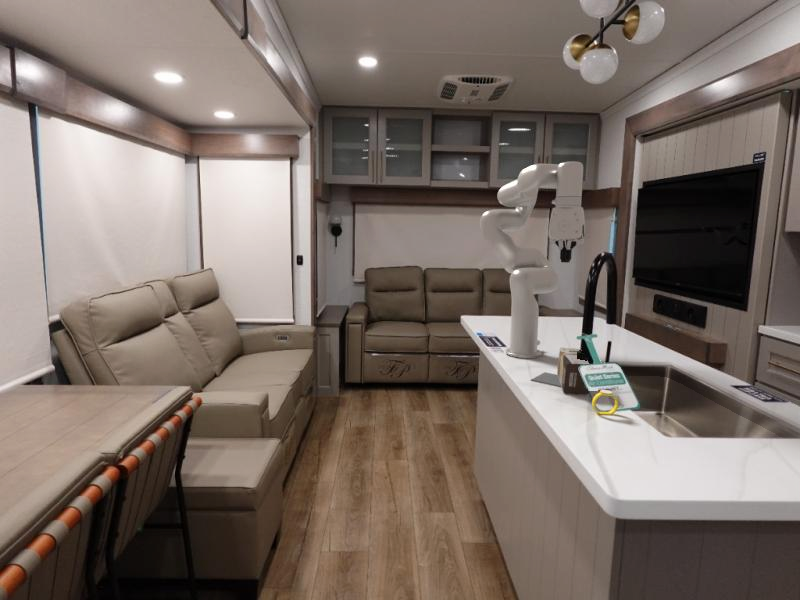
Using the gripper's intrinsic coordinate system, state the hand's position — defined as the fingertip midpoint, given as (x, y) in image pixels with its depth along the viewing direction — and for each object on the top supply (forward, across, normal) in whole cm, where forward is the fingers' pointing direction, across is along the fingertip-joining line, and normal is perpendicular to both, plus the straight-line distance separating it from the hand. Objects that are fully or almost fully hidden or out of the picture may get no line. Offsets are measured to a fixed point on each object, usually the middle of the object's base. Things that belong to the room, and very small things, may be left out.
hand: (565, 262), depth 156 cm
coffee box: (+30, +5, -7) cm, 31 cm away
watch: (+35, +24, -30) cm, 52 cm away
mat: (+35, +3, -12) cm, 37 cm away
